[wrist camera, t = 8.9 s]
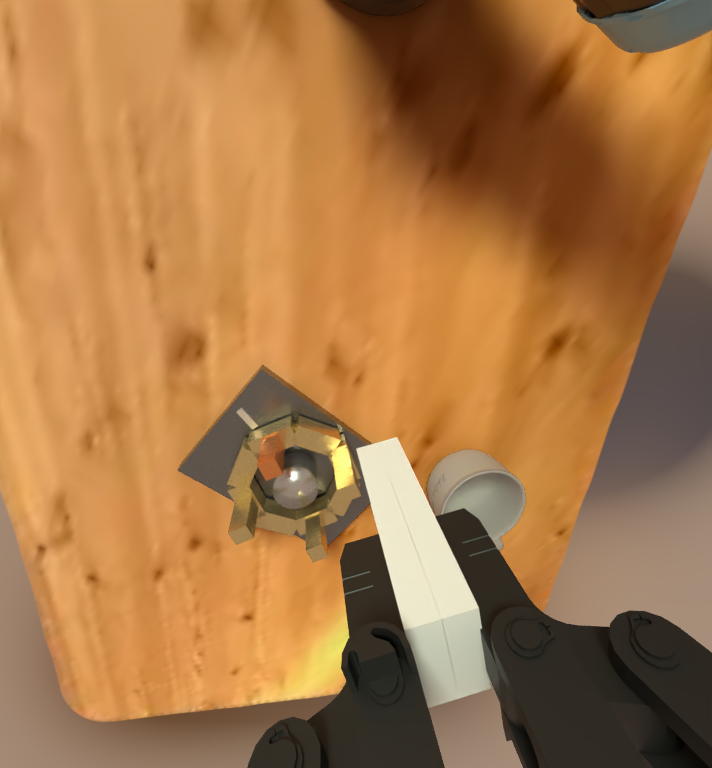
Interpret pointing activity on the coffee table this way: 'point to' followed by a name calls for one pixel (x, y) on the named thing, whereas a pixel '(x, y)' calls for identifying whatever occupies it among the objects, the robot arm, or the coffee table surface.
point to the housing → (301, 466)
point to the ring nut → (269, 457)
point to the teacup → (477, 491)
